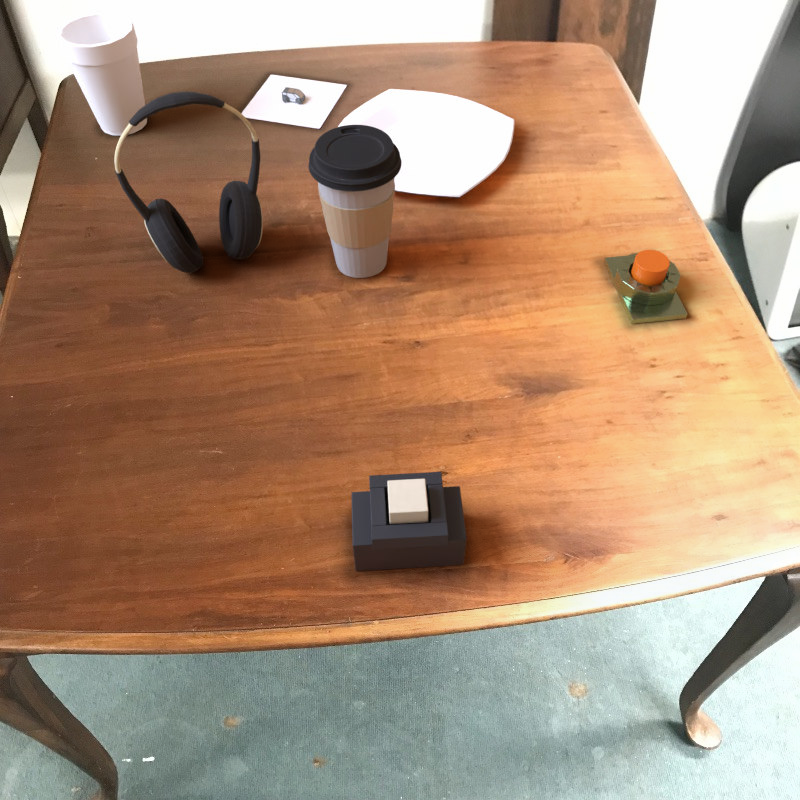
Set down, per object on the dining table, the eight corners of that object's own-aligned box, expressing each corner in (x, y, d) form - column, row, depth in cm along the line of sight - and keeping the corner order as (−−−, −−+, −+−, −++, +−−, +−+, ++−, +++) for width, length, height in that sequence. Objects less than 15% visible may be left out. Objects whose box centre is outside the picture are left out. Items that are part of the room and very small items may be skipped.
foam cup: (92, 108, 110) (60, 15, 100) (159, 102, 111) (133, 9, 101) (87, 145, 104) (52, 50, 94) (156, 138, 105) (130, 43, 95)
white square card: (319, 128, 106) (318, 118, 105) (238, 116, 108) (236, 106, 107) (347, 85, 113) (346, 75, 112) (271, 74, 116) (269, 64, 114)
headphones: (286, 263, 88) (260, 100, 73) (157, 298, 85) (101, 135, 70) (266, 220, 94) (237, 59, 78) (143, 251, 90) (88, 89, 75)
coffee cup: (370, 225, 93) (364, 110, 81) (419, 266, 88) (420, 150, 76) (304, 257, 89) (288, 141, 77) (351, 302, 84) (342, 186, 73)
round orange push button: (669, 284, 83) (674, 270, 81) (637, 288, 82) (641, 273, 81) (658, 262, 85) (663, 248, 83) (626, 265, 85) (630, 251, 83)
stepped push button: (456, 508, 68) (460, 470, 63) (464, 570, 64) (468, 534, 59) (354, 514, 67) (350, 476, 63) (355, 576, 64) (351, 540, 59)
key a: (425, 490, 62) (425, 478, 61) (427, 522, 61) (428, 510, 59) (387, 492, 62) (387, 480, 61) (389, 524, 60) (389, 513, 59)
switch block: (688, 318, 82) (695, 301, 80) (629, 324, 82) (634, 307, 80) (656, 257, 89) (662, 239, 87) (601, 262, 88) (605, 245, 86)
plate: (533, 127, 106) (535, 114, 104) (467, 224, 93) (468, 210, 91) (383, 90, 112) (382, 77, 111) (301, 175, 99) (300, 162, 98)
